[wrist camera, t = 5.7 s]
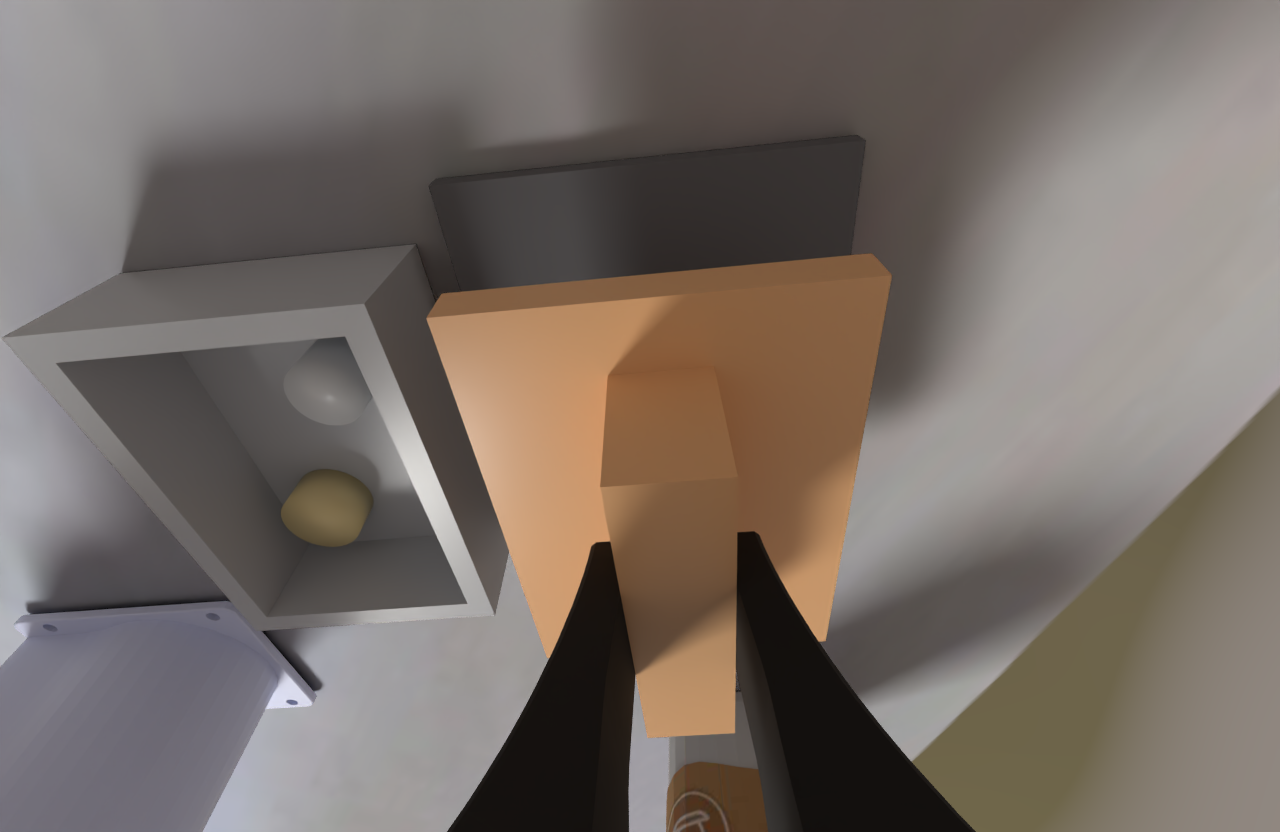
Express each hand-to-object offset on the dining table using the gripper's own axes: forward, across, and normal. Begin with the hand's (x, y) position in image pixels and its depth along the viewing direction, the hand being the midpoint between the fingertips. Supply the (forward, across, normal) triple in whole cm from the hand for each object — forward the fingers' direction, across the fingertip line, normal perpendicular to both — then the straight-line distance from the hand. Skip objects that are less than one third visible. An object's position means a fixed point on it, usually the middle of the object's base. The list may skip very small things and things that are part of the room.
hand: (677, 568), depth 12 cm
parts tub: (+7, +10, 0) cm, 12 cm away
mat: (+7, 0, 0) cm, 7 cm away
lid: (+3, 0, 0) cm, 3 cm away
